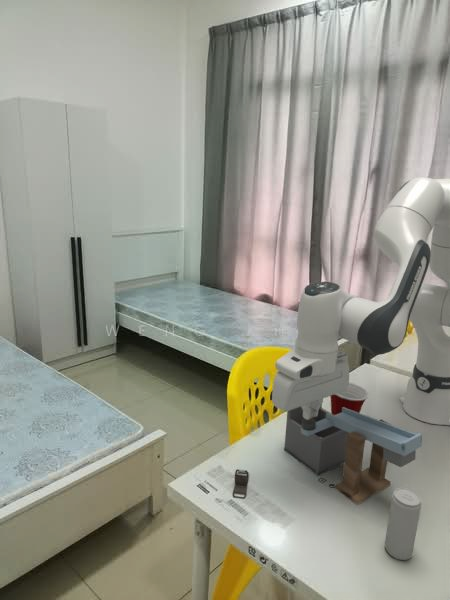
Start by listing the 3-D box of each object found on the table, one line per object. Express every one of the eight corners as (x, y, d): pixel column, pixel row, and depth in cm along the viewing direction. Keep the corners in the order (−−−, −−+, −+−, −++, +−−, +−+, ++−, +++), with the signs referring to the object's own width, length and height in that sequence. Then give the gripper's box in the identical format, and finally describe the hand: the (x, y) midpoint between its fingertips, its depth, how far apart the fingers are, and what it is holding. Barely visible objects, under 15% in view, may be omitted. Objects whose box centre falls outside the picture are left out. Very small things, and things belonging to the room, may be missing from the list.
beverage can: (389, 536, 82) (398, 483, 79) (415, 550, 79) (425, 495, 76) (380, 552, 78) (389, 496, 75) (407, 566, 76) (417, 510, 72)
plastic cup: (366, 440, 113) (371, 400, 110) (324, 435, 115) (329, 395, 112) (361, 420, 124) (366, 382, 121) (323, 415, 126) (327, 377, 123)
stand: (367, 470, 101) (375, 416, 98) (389, 485, 96) (398, 428, 93) (335, 488, 95) (342, 430, 91) (357, 504, 90) (365, 444, 86)
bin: (316, 436, 115) (321, 382, 110) (350, 459, 105) (358, 400, 101) (284, 450, 108) (288, 392, 104) (317, 475, 99) (324, 413, 95)
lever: (341, 427, 103) (341, 404, 102) (421, 460, 86) (422, 433, 85) (299, 444, 95) (299, 420, 94) (378, 485, 78) (378, 456, 78)
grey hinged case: (236, 473, 99) (237, 457, 98) (249, 475, 99) (250, 459, 98) (231, 498, 91) (232, 481, 90) (245, 500, 91) (246, 483, 90)
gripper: (337, 345, 98) (331, 399, 102) (269, 363, 87) (265, 423, 91) (359, 354, 93) (352, 410, 97) (290, 374, 82) (285, 437, 86)
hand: (310, 416), depth 94 cm, fingers closed
